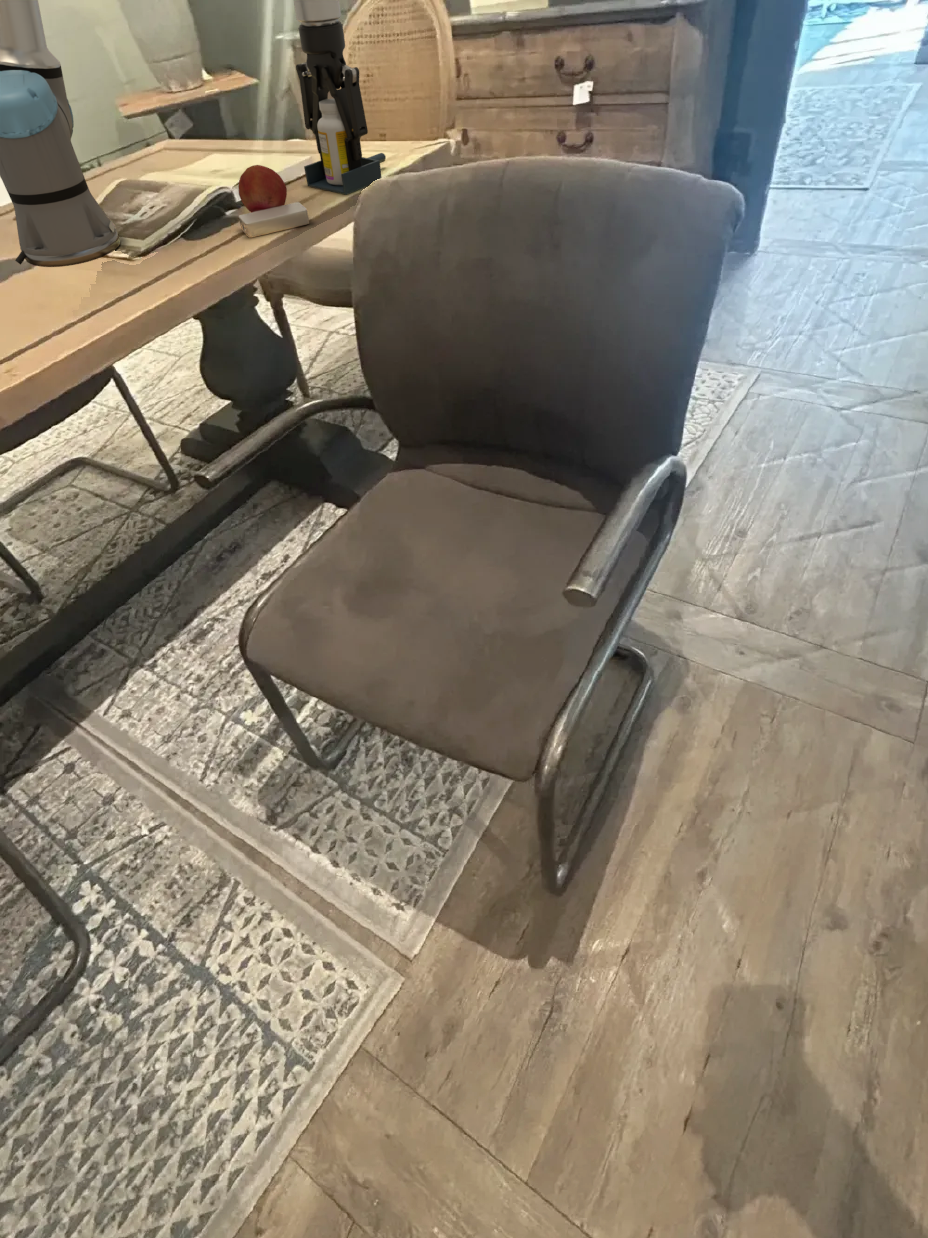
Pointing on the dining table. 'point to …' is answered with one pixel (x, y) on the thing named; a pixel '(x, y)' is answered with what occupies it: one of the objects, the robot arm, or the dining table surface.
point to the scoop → (346, 175)
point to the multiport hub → (274, 219)
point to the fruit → (261, 188)
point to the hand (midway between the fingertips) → (343, 175)
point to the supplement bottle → (332, 142)
